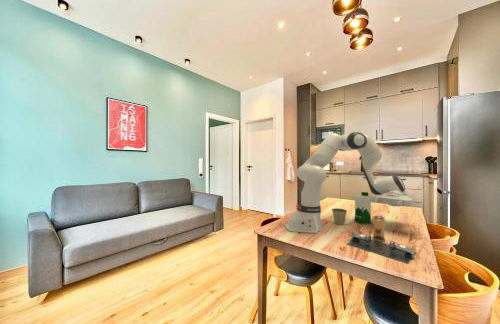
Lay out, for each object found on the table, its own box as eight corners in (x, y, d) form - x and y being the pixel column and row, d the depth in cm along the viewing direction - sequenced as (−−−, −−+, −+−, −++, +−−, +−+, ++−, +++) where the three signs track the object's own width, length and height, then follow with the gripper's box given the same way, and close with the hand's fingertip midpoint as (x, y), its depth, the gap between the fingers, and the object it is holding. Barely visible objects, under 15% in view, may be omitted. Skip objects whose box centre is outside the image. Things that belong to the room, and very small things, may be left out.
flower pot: (344, 221, 135) (344, 208, 135) (349, 225, 125) (349, 212, 125) (329, 220, 136) (329, 208, 136) (334, 225, 126) (334, 211, 126)
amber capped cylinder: (376, 242, 100) (376, 218, 100) (370, 237, 105) (370, 215, 105) (387, 242, 100) (387, 218, 100) (380, 237, 105) (380, 215, 105)
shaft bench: (346, 244, 98) (346, 234, 98) (357, 236, 107) (357, 227, 107) (409, 264, 79) (409, 252, 78) (417, 253, 87) (417, 242, 87)
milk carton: (373, 223, 129) (373, 193, 129) (363, 225, 126) (363, 194, 126) (361, 219, 137) (361, 191, 137) (352, 221, 134) (351, 192, 134)
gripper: (374, 191, 127) (366, 194, 118) (415, 195, 111) (409, 199, 103) (374, 201, 127) (366, 204, 118) (415, 206, 111) (409, 211, 103)
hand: (386, 202), depth 110 cm, fingers open, 8 cm apart
